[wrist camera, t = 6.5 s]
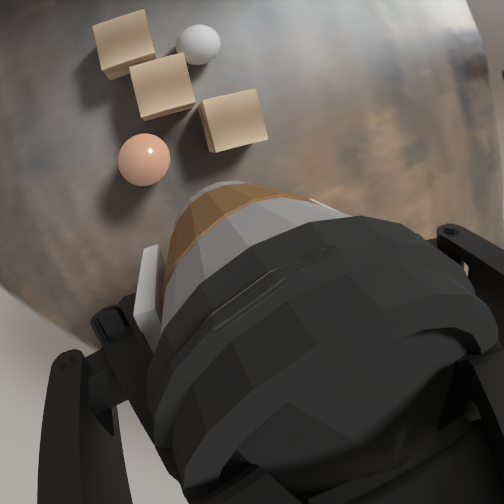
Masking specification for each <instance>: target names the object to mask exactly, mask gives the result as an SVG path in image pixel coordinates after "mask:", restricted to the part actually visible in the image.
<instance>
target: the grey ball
mask: <svg viewBox="0 0 504 504" xmlns="http://www.w3.org/2000/svg"><path fill="white" fill-rule="evenodd" d="M219 49H220V38H219V36H218V34H217V33H216V31H215V30H214V29H212V28H211V27H209V26H206V25H193V26H190V27H188V28H186V29H185V30H183V31H182V32H181V33H180V35H179V36H178V38H177V41H176V51H177V53H183V52H184V56H185V60H186V63H189V64H192V65H202V64H205V63H208V62H210V61H211V60H213V59H214V58H215V57H216V55H217V54H218V52H219Z"/></svg>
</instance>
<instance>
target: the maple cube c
mask: <svg viewBox="0 0 504 504" xmlns="http://www.w3.org/2000/svg"><path fill="white" fill-rule="evenodd" d="M198 111H199V115H200V119H201V122H202V126H203V130H204V134H205V138H206V141H207V145H208V149H209V152H215V153H217V152H220V151H224V150H228V149H231V148H235V147H239V146H243V145H247V144H251V143H255V142H259V141H263V140H268V136H267V132H266V128H265V124H264V120H263V116H262V112H261V108H260V104H259V100H258V96H257V92H256V89H251V90H246V91H241V92H236V93H232V94H227V95H223V96H218V97H214V98H210V99H206V100H202V102H201V103H200V104H199V106H198Z"/></svg>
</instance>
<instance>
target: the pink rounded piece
mask: <svg viewBox="0 0 504 504" xmlns="http://www.w3.org/2000/svg"><path fill="white" fill-rule="evenodd" d="M169 164H170V153H169V150H168V147H167V145H166V144H165V143H164V141H163V140H161V139H160V138H159V137H157V136H155V135H152V134H146V133H144V134H138V135H135V136H133V137H131V138H130V139H128V140H127V141H126V142H125V143H124V144H123V146H122V148H121V150H120V152H119V156H118V166H119V170H120V172H121V174H122V176H123V177H124V178H125V179H126V180H127V181H128V182H130V183H132V184H134V185H137V186H148V185H152V184H154V183H156V182H158V181H159V180H160V179H161V178H162V177H163V176H164V175H165V174H166V172H167V170H168V168H169Z"/></svg>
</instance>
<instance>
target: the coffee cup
mask: <svg viewBox="0 0 504 504" xmlns="http://www.w3.org/2000/svg"><path fill="white" fill-rule="evenodd" d="M162 312H163V315H162V325H161V334H160V340H159V342H158V345H157V347H156V350H155V352H154V355H153V358H152V360H151V363H150V365H149V368H148V371H147V406H148V410H149V412H150V414H151V417H152V419H153V429H154V442H155V448H156V447H162V448H172V451H173V454H174V458H175V462H176V465H177V469H178V473H179V476H180V480H181V483H182V486H183V487H182V486H181V488H182V491H183V494H184V496H185V498H186V499H187V501H188V503H189V504H192V503H193V502H192V500H191V499H190V497H189V496H188V494H187V493H186V492H185V490H184V489H186V488H190V487H195V486H200V485H204V484H208V483H212V482H216V481H219V478H220V474H221V470H222V468H223V466H224V465H225V464H226V462H227V461H228V460H229V459H230V457H231V456H232V455H233V453H234V452H235V451H236V450H237V451H238V452H239V453H240V454H241V455H242V456H243V457H244V458H245V459H246V460H248V461H249V462H250V463H251V464H257V465H258V466H260V467H261V468H262V469H264V470H265V471H266V472H267V473H268V474H269V475H270V476H271V477H273V478H274V479H275V480H276V481H277V482H278V483H279V484H280V485H281V486H283V487H284V488H285V489H286V490H287V491H288V492H290V493H291V494H292V495H293V496H294V497H295V498H297V499H298V500H299V501H300V502H301V503H303V504H309V503H308V499H309V498H312V497H314V496H317V495H319V494H322V493H324V492H327V491H329V490H331V489H334V488H336V487H338V486H341V485H343V484H345V483H347V482H349V481H352V480H356V479H360V478H364V477H368V476H371V475H375V474H379V473H382V472H386V471H389V470H393V469H396V468H398V467H400V466H402V465H403V464H404V463H405V462H406V461H407V460H408V459H409V458H410V457H411V456H412V455H413V454H414V453H415V452H416V451H417V450H418V449H419V448H420V447H421V446H422V445H423V444H424V443H425V442H426V441H427V440H428V439H429V438H430V437H431V436H432V435H434V434H435V433H437V432H438V423H439V420H440V417H441V414H442V411H443V408H444V405H445V402H446V398H447V395H448V392H449V388H450V385H451V381H452V377H453V373H454V370H455V366H456V362H457V360H458V359H460V358H461V357H463V356H464V355H466V354H467V353H468V352H470V351H471V352H474V353H478V354H482V353H484V352H485V351H487V350H488V349H489V348H491V347H492V346H493V345H494V344H496V343H497V342H498V326H497V324H496V321H495V319H494V316H493V314H492V312H491V310H490V307H489V306H487V305H486V304H485V303H484V302H483V301H481V300H480V299H479V298H478V297H477V296H476V295H475V290H474V288H473V286H472V284H471V282H470V280H469V279H468V277H467V275H466V273H465V271H464V269H463V267H462V266H461V265H459V264H458V263H457V262H455V261H454V260H452V259H451V258H450V257H448V256H447V255H445V254H444V253H443V252H441V251H440V250H438V249H437V248H435V247H434V246H432V245H431V244H430V243H429V242H428V241H426V240H425V239H423V238H422V237H420V236H419V235H417V234H416V233H414V232H413V231H411V230H410V229H408V228H407V227H405V226H404V225H402V224H399V223H394V222H390V221H385V220H380V219H375V218H370V217H365V216H350V215H347V214H344V213H341V212H338V211H335V210H332V209H329V208H326V207H324V206H322V205H320V204H318V203H316V202H314V201H312V200H310V199H308V198H304V197H301V196H298V195H294V194H291V193H287V192H284V191H280V190H277V189H273V188H270V187H266V186H260V185H254V184H250V183H245V182H238V181H226V182H218V183H215V184H213V185H210V186H208V187H205V188H203V189H202V190H200V191H199V192H198V193H196V194H195V195H194V196H192V197H191V198H190V199H189V200H188V202H187V203H186V204H185V205H184V207H183V208H182V209H181V211H180V213H179V215H178V218H177V220H176V222H175V226H174V232H173V234H172V237H171V241H170V247H169V253H168V259H167V265H166V271H165V278H164V284H163V296H162ZM156 450H157V449H156ZM157 452H158V450H157ZM158 454H159V456H160V458H161V460H162V461H163V463H164V465H165V467H166V469H167V471H168V472H169V474H170V475H171V476H173V477H174V478H175V479H176V477H175V476H174V475H173V473H172V472H171V470H170V469H169V467H168V466H167V464H166V463H165V461H164V460H163V458H162V456H161V455H160V453H159V452H158ZM176 480H177V479H176ZM177 481H178V480H177Z"/></svg>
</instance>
